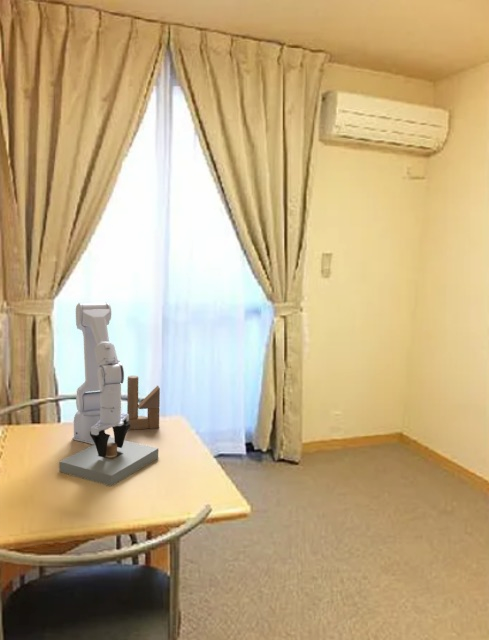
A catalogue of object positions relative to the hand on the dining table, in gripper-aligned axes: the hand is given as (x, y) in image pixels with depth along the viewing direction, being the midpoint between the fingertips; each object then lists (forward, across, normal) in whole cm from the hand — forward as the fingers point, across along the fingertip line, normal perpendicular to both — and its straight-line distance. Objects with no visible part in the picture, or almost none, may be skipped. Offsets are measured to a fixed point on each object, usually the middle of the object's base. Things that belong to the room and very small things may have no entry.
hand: (110, 451), depth 169 cm
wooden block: (+4, +30, +10) cm, 32 cm away
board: (+4, 0, 0) cm, 4 cm away
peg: (+4, 0, 0) cm, 4 cm away
